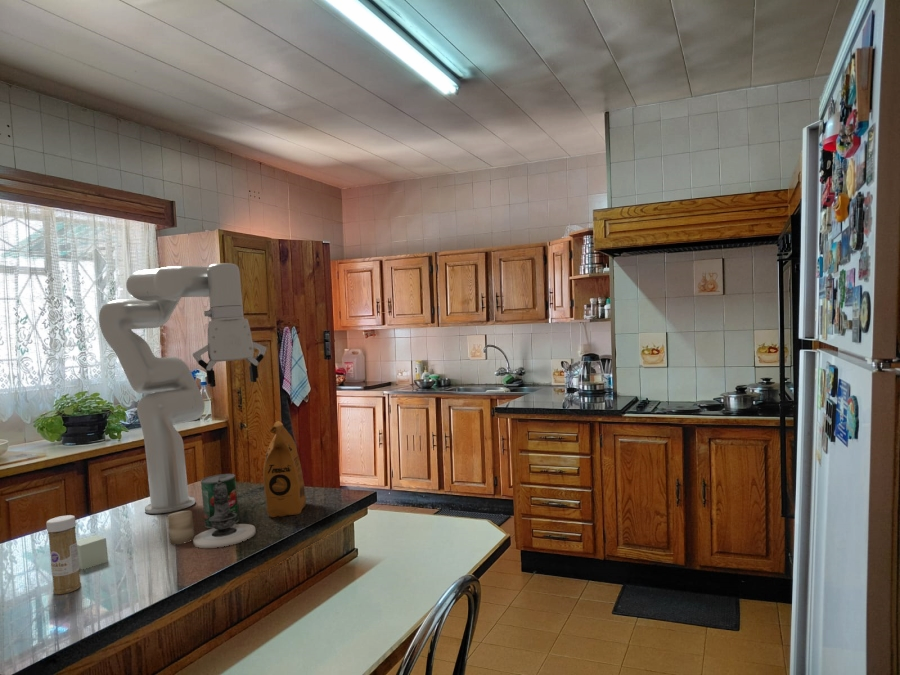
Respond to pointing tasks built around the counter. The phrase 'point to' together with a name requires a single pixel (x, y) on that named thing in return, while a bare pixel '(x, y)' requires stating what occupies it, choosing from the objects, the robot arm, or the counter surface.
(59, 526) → the sprinkles bottle
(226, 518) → the dark grey chess piece
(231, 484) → the canned tomato
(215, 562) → the counter surface
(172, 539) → the beige rounded cylinder
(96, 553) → the sage block
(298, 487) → the coffee package
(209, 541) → the plate
